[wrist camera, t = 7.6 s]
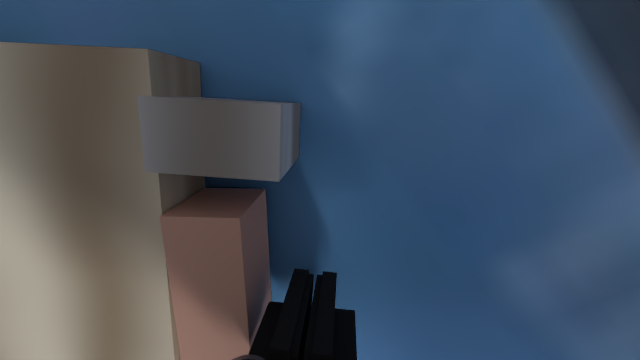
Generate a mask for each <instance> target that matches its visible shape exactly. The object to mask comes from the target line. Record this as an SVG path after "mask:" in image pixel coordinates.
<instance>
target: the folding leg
mask: <svg viewBox="0 0 640 360" xmlns="http://www.w3.org/2000/svg"><path fill="white" fill-rule="evenodd" d="M160 223H161V230H162V236H163V243H164V250H165V256H166V263H167V270H168V276H169V283H170V290H171V296H172V303H173V310H174V317H175V323H176V330H177V337H178V343H179V350H180V357H181V360H232V359H234V358H236V357H239V356H241V355H248V354H249V351H250V348H251V346H252V343H253V341H254V338H255V336H256V333H257V331H258V328H259V326H260V323H261V320H262V318H263V315H264V313H265V310H266V308H267V305H268V303H269V302H270V301H272V299H271V281H270V262H269V243H268V224H267V205H266V189H242V188H204V189H202V190H201V191H199V192H198V193H196V194H194V195H193V196H191V197H190V198H188V199H186V200H185V201H183V202H182V203H180V204H178V205H177V206H175V207H174V208H172V209H170V210H169V211H167V212H166V213H164V214H163V215H161V216H160Z"/></svg>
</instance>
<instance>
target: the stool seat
mask: <svg viewBox="0 0 640 360" xmlns="http://www.w3.org/2000/svg"><path fill="white" fill-rule="evenodd" d="M300 109H301V103H292V102H274V101H257V100H239V99H221V98H204V97H201V77H200V63H199V62H195V61H191V60H187V59H184V58H180V57H176V56H172V55H169V54H165V53H161V52H157V51H154V50H150V49H140V48H119V47H98V46H77V45H56V44H35V43H14V42H0V360H181V357H180V350H179V343H178V337H177V330H176V323H175V317H174V310H173V303H172V296H171V290H170V283H169V276H168V270H167V263H166V256H165V250H164V243H163V236H162V230H161V223H160V216H161V215H163V214H164V213H166V212H167V211H169V210H170V209H172V208H174V207H175V206H177V205H178V204H180V203H182V202H183V201H185V200H186V199H188V198H190V197H191V196H193V195H194V194H196V193H198V192H199V191H201V190H202V189H204V188H206V186H205V176H206V177H220V178H234V179H247V180H261V181H275V182H280V180H281V179H282V178H283V177H284V175H285V174H286V173H287V171H288V170H289V169H290V168H291V166H292V165H293V164H294V163H295V161H296V160H297V159H298V158H299V137H300Z"/></svg>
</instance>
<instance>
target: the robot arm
mask: <svg viewBox="0 0 640 360" xmlns="http://www.w3.org/2000/svg"><path fill="white" fill-rule="evenodd" d="M313 277H314V275H313V274H309V270H304V269H294V272H293V275H292V278H291V281H290V284H289V288H288V291H287V294H286V297H285V300H284V303H281V302H272V301H270V302H269V303H268V305H267V308H266V310H265V313H264V315H263V318H262V320H261V323H260V326H259V328H258V331H257V333H256V336H255V338H254V341H253V343H252V346H251V348H250V351H249V354H248V355H241V356H239V357H236V358H234V359H232V360H357V351H356V326H355V311H354V310H346V309H336V308H335V295H336V277H337V273H334V272H324V271H323V275H317V278H316V284H315V290H314V296H313V302H312V293H313Z"/></svg>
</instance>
